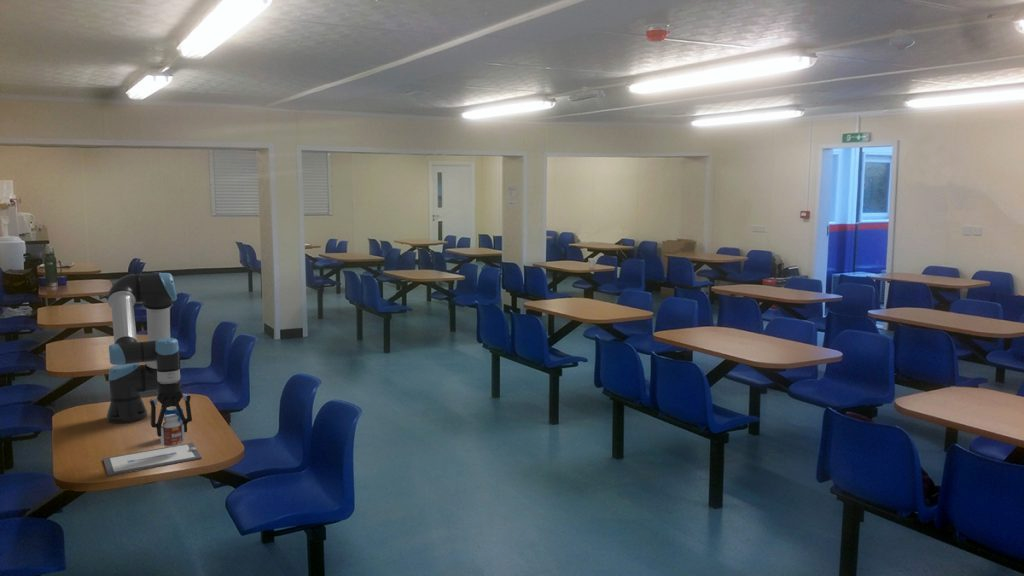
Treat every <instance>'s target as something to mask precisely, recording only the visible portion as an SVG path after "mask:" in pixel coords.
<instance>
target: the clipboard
mask: <svg viewBox="0 0 1024 576" xmlns="http://www.w3.org/2000/svg"><path fill="white" fill-rule="evenodd" d="M202 459H203V458H202V456H201V454H200V452H199V451H198V449H197V447H196V446H195V445H194V443H193V442H188V443H184V444H183V443H182V444H181V445H180V446H177V447H165V446H164V447H160V448H159V447H158V448H154V449H147V450H142V451H137V452H131V453H126V454H119V455H113V456H108V457H103V459H102V461H103V464H104V467H105V471H106V473H107V476H108V477H112V476H116V475H122V473H123V474H126V473H125V472H128V473H131V472H130V471H134V472H136V471H135V470H139V471H143V470H142V469H144V470H149V468H150V469H154V468H159V467H160V468H161V467H166V466H170V465H176V464H181V463H186V462H191V461H197V460H202Z"/></svg>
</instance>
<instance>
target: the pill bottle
mask: <svg viewBox="0 0 1024 576" xmlns="http://www.w3.org/2000/svg"><path fill="white" fill-rule="evenodd" d="M178 418H179V417H178V415H177V414H170V415H166V416H165V415H164V418H163V421H164V422H162V427H163V431H164V446H163V447H164V448H165V447H177V446H180V445H182V444H183V442H182V432H181V422H180V421H179V420H178Z"/></svg>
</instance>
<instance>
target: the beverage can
mask: <svg viewBox="0 0 1024 576" xmlns="http://www.w3.org/2000/svg"><path fill="white" fill-rule="evenodd" d="M180 408H181V410H182V412H183V413H184V408H183V407H182V406H181V405H180ZM170 414H177V415H178V417H179V418H178V420H179V421H180V422H181V423H183V422H182V420H181V417H180V415H179V413H178V411H177V409H176V406H174V407H173V406H171V407H167V409H166V411H165V415H164V416H166V415H170Z"/></svg>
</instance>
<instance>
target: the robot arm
mask: <svg viewBox="0 0 1024 576" xmlns="http://www.w3.org/2000/svg"><path fill="white" fill-rule="evenodd" d="M174 281H175V280H174V277H173V275H172V274H171V273H170V272H153V273H152V272H151V273H130V274H126V275H124V276H122V277H120V278H119V279H118V280H116V282H114V283H113V285H112V286H111V287H110V289H109V291H108V295H107V304H108V306H109V307H110V308H111V317H112V330H113V344H109V346H108V353H109V354H108V355H109V356H108V357H109V363H110V364H111V365H114V366H112V367H111V368H110V369H109V370H108V381H109V382H108V385H109V398H110V401H109V402H110V403H109V406H108V409H107V413H106V421H107V422H109V423H112V424H125V423H132V422H137V421H141V420H143V419H146V418H147V417H148V410H147V408H146V406H145V403H144V400H143V399H142V393H146V392H154V391H158V392H157V397H156V398H153V399H149V400H148V402H149V403H150V426H151V428H155V429H156V435H157V437H158V438H159V437H160V444H161V446H163V447H165V446H164V431H163V423H164V422H163V421H164V416H165V411H166V409H167V407H171V406H173V407H174V406H176V409H177V411H178V413H179V415H180V417H181V420H182V422H183V423H181V432H182V443H185V442H186V440H185V433H187V432H188V423H190V422H193V417H192V409H191V403H190V401H191V395H190V394H189V393H187V394H184V393H182V385H181V383H182V382H181V372H180V371H181V368H180V353H179V351H180V347H179V341H178V339H177V338H173V337H171V323H170V321H171V320H170V319H171V315H170V313H171V312H170V309H171V307H172V306H173V305H174V302H175V301H176V300H178V297H177V291H176V286H175V282H174ZM139 303H141V305H142V307H143V309H145V310H146V327H147V341H138V337H137V329H136V319H135V318H136V317H135V307H134V306H135V304H139ZM140 363H144V364H140ZM182 399H183V400H184V405H185V411H186V417H185V415H184V411H183V412H182V410H181V408H180V406H181V405H180V402H181V400H182ZM158 402H159V403H160V404H161V406H160V407H161V408H160V410H159V411H160V412H159V415H158V419H156V417H157V413H156V411H157V410H156V406H157V405H158ZM156 420H157V422H156Z"/></svg>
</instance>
